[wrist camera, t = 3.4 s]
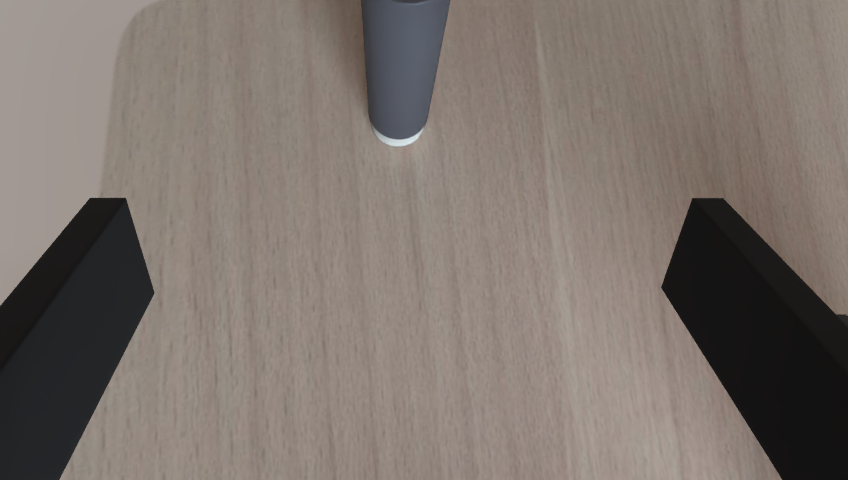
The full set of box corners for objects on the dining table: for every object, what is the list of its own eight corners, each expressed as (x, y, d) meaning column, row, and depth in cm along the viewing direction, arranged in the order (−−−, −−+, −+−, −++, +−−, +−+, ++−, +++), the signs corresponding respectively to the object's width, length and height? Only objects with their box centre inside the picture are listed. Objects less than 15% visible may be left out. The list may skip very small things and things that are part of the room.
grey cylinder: (359, 132, 28) (340, -24, 16) (385, 85, 28) (386, -101, 16) (410, 158, 28) (429, 21, 16) (436, 110, 28) (473, -57, 16)
